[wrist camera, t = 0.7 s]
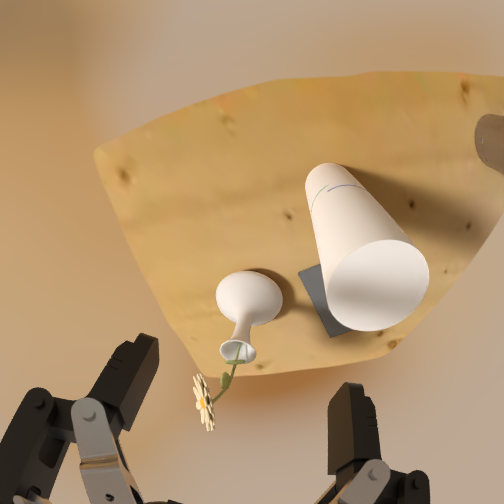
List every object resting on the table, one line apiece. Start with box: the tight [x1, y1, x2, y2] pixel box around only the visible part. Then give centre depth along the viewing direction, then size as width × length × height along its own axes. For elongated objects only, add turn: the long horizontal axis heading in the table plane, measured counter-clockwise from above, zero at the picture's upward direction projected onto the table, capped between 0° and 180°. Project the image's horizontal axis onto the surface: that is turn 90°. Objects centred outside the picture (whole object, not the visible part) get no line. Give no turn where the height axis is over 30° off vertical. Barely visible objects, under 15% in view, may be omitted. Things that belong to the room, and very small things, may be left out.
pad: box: [298, 264, 354, 338], centre depth 45 cm, size 18×16×1 cm
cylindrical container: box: [305, 163, 429, 331], centre depth 27 cm, size 7×7×25 cm
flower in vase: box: [193, 271, 283, 431], centre depth 38 cm, size 13×11×25 cm
